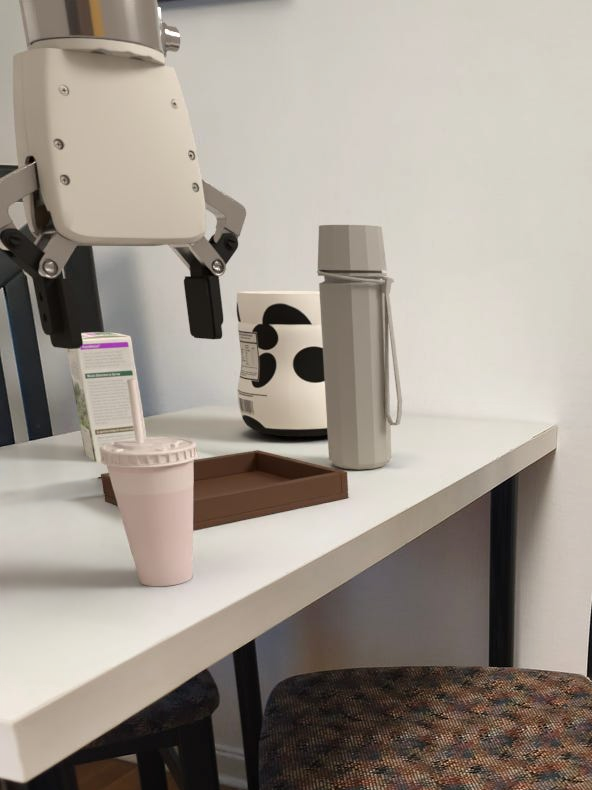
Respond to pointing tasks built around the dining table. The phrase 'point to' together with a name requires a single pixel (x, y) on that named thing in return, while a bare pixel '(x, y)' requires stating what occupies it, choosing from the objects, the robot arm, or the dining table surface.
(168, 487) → the smoothie
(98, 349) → the syrup box
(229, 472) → the tray
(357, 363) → the water bottle
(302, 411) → the milk container
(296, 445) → the dining table surface
